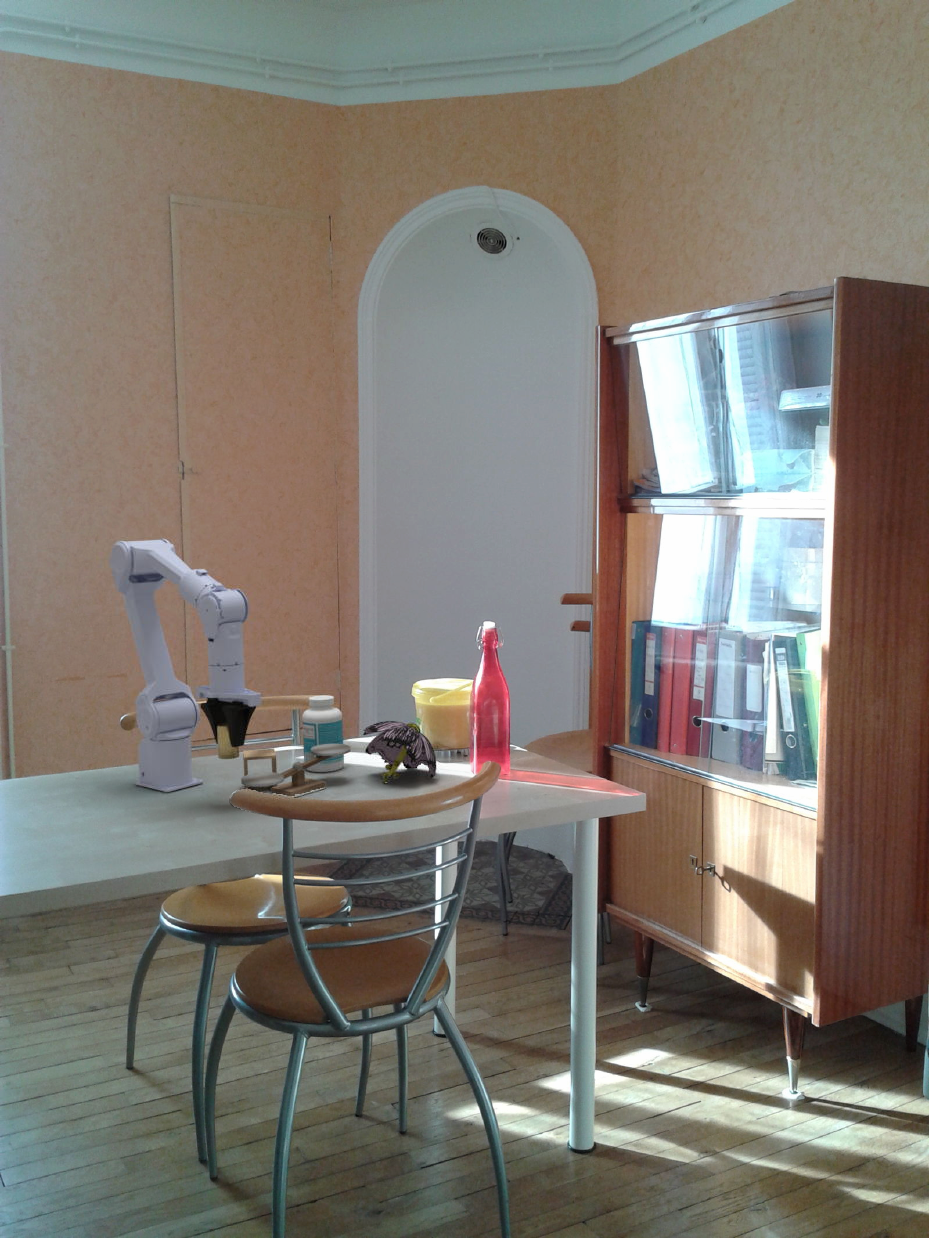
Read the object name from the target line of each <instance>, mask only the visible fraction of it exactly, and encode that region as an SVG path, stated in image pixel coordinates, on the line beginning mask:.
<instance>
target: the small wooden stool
mask: <svg viewBox="0 0 929 1238" xmlns="http://www.w3.org/2000/svg"><path fill="white" fill-rule="evenodd" d="M242 756H243V777H244V776H246V775H249V767H248V764H249V763H248V761H252V760H253V761H255V760H267V759H268V760H269V759H271V772H273V773H278V772H277V771H278V770H277V755H276V751H275V748H264V749H263V748H262V749H261V748H260V749H249V750H247V749H246V750H242ZM273 786H274V787H275V786H278V784H276V785H272V787H273ZM245 788H249V786H246V785H244V789H245Z"/></svg>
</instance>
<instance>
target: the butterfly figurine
mask: <svg viewBox="0 0 929 1238" xmlns="http://www.w3.org/2000/svg"><path fill="white" fill-rule="evenodd" d="M421 731H422V730H421V727H420V726H419V724H418V725H417V724H416V723H414V722H409V723H407V724H405V723H403V722H400V721H397V720H396V721H395V720H387V721H379V722H376V723H374V724H370V725H369V726H368V727H365V729H363V734H362V736H367V735H371V734H375V733H379V734H377V735H376V736H375V737H374V738H373V739H372V740H370V742H369V743H368V744H367V747H366V748H365V751H364V752H365V753H366V754H367V755H370V756H371V755H372V754H376V753H377V754H378V756H380V757H381V758H380V760H381V759H382V760H383V761H384V762H383V764H385V766H384V768H385V770H387V771H383V772H382V783H383V782H388V783H389V777H391V776H392V777H393V778H394V779H397V778H399V772H396V771H397V769H398V768H399V767H400V766H401V764H402V765H403V766H404V768H405V769H406V770H417V769H418V767H419V766H421V765H424V766H426V767H427V769H428V773H429V777H430V778H432V779H433V778H434V777H435V776H436V775H437V774H436V772H437V757H436V753H435V749H434V748H433V745H432V743H431V741H430V740H429V739H428V737H426V736H425V735H424V733H422V732H421ZM380 732H381V733H380Z"/></svg>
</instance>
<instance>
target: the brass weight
mask: <svg viewBox="0 0 929 1238" xmlns="http://www.w3.org/2000/svg"><path fill="white" fill-rule="evenodd" d="M217 738H218V744H217V752H218V753H217V755H218V757H217V758H218V759H220V760H233V759H238V758H239V757H240V746H239V747H232V746H231V742H230V735H229V727H228V723H222V724H218V725H217Z"/></svg>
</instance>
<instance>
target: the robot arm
mask: <svg viewBox="0 0 929 1238" xmlns="http://www.w3.org/2000/svg"><path fill="white" fill-rule="evenodd" d="M108 563H109V567H110V570H111V573H112V578H113V582H114V585H115V588H116V591H117V592H119V593H121V595H122V599H123V604H124V608H125V611H126V616H127V618H128V623H129V626H130V630H131V633H132V637H133V641H134V645H135V649H136V652H137V656H138V661H139V664H140V667H141V671H142V675H143V679H144V684H145V686H144V688H143V689H142V690H141V691H140V692H139V694H138V695H137V696H136V698H135V700H134V702H135V709H136V717H135V719H136V724H137V727H138V730H139V731H140V733H141V734H142V735H143V737H142V739H141V740H140V742H139V745H138V746H137V747H138V748H137V754H138V755H137V758H138V777H139V779H138V781H135V785H136V786H140V787H145V788H148V789H152V790H157V791H160V792H165V793H170V792H173V791H177V790H180V789H185V788H189V787H192V786H196V785H200V784H203V783H204V780H203V779H200V778H196V777H193V761H192V758H193V757H192V745H191V744H192V738H191V735H194V734H195V729H196V728H197V727H198V726H199V723H200V719H201V711H203V713H204V715H205V716H206V718H207V720H208V723H209V725H210V728H211V731H212V734H213V737H214V741H215V743H216V745H218V738H217V725H218V724H222V723H228V727H229V735H230V742H231V746H232V747H239V748H240V747H243V746H244V745H245V741H246V736H247V731H248V727H249V724H250V721H251V718H252V716H253V715H254V712H255V711H256V709H257V707H258V706H262V693H260V692H256V691H255V690H251V689H249V688H246V683H245V681H246V680H245V661H244V660H245V659H244V657H245V656H244V640H243V637H244V636H243V624H244V623H245V622H246V621H247V619H248V618H249V614H250V611H249V610H250V605H249V601H248V598H247V596H246V595H245V593H244V592H243V591H242V589H239V588H232V589H230V588H226V587H225V586H224V585H223V584H222V583H221V582H219V581H217V580H216V579H214V578H213V577H212V576H211V575H209V572H208V571H207V570H206V569H205V568H198V569H196V568H194V569H191V568H190V567H189V566H188V565H187V564H186V562H184V561H183V560H182V559H181V558H180V557H179V556H178V555H177V553H176V549H175V545H174V544H172V543H171V542H170V541H169V540H167V539H166V538H159V539H149V540H131V541H129V540H128V541H124V540H118V541H115V543H114V545H113V547H112V548H111V552H110V556H109V561H108ZM167 580H168V581H170V582H171V583H173V584H174V585H175V586H177V587H178V588H177V589H178V590H177V591H178V594H179V596H180V597H181V598H182V599H183V600H184V601H185V602H187V603H188V604H189V605H191V606H192V607H193V608H194V609H195V610H197V611H198V612H197V614H198V617H199V621H200V622H201V624H202V629H203V631H202V633H203V634H204V637H205V638H206V639H207V660H208V680H209V681H208V682H209V685H207V684H206V685H205V684H204V685H198V686H195V697H194V695H193V693H192V690H191V689H192V688H191V686H189V685H187V684H186V683H184V682H182V681H181V680H179V679H178V678H177V677H176V676H175V670H174V667H173V663H172V660H171V657H170V653H169V648H168V646H167V643H166V642H167V641H166V638H165V634H164V631H163V627H162V623H161V620H160V616H159V611H158V609H157V605H156V601H155V598H154V597H155V593H156V591H157V590H159V589H161V588H162V587H163V586H164V584H165V582H166V581H167ZM195 698H196V699H206V702H202V703H200V706H199V703H198V701H197V700H196V699H195ZM200 709H201V710H200Z"/></svg>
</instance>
